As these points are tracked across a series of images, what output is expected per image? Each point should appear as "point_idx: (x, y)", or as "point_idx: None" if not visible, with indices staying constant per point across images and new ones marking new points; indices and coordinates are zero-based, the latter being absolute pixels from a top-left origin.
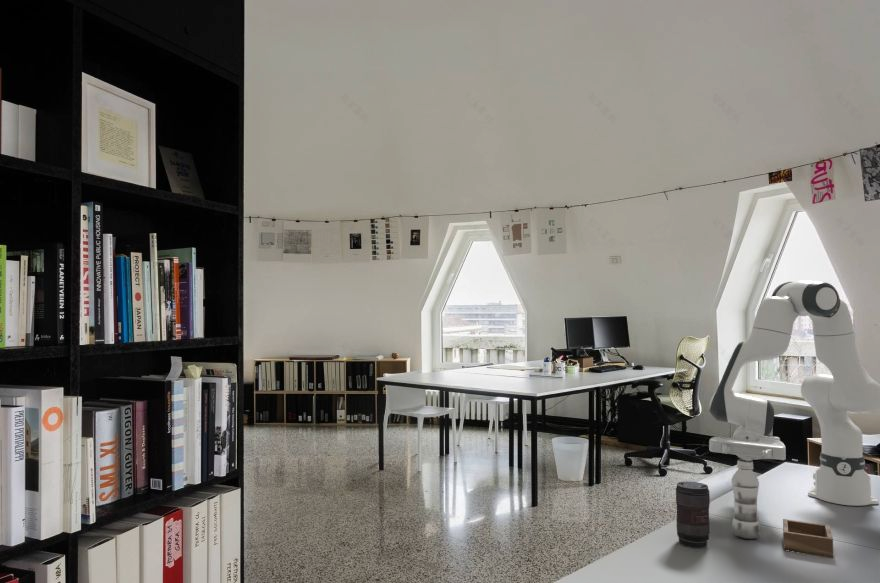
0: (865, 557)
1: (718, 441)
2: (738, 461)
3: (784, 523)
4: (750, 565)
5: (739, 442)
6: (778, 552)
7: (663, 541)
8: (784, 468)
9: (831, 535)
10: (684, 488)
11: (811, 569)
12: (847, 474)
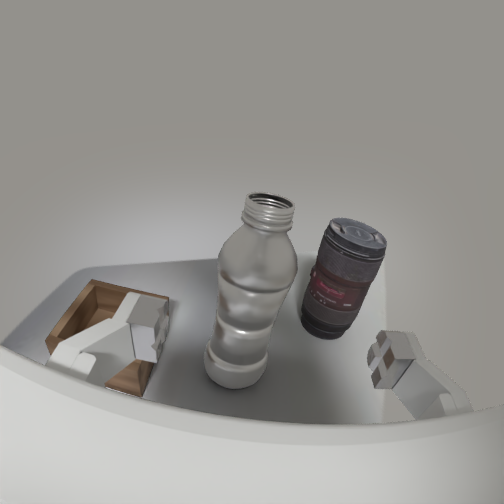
0: (40, 312)
1: (501, 405)
2: (290, 201)
3: None
4: None
5: (374, 440)
6: (181, 317)
7: (362, 321)
8: None
9: (81, 292)
10: (362, 224)
11: (152, 274)
12: None
